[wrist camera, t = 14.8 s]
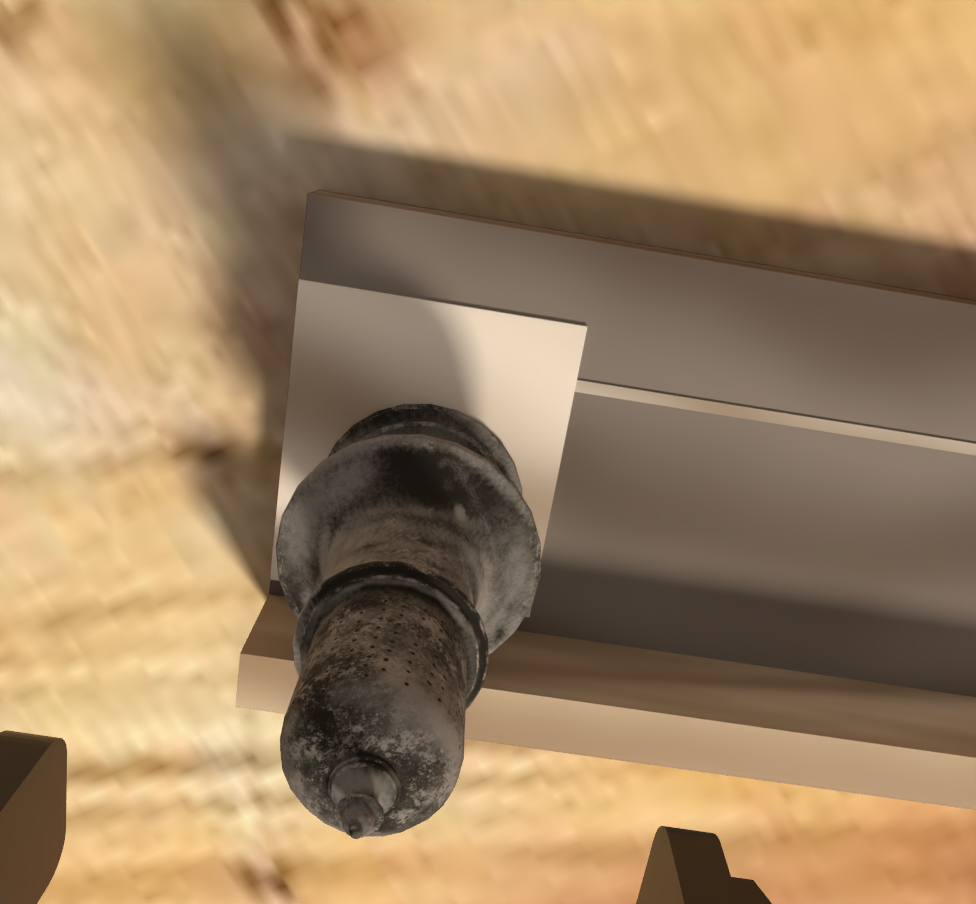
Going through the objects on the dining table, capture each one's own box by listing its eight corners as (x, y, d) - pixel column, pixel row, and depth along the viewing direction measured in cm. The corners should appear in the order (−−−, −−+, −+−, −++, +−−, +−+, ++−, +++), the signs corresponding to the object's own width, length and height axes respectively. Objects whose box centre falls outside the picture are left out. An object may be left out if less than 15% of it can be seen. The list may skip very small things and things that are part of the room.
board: (319, 190, 23) (280, 201, 18) (1163, 332, 24) (1310, 373, 20) (276, 616, 26) (235, 706, 22) (1006, 721, 28) (1101, 827, 23)
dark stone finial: (366, 634, 25) (262, 1049, 13) (266, 444, 23) (47, 737, 12) (568, 556, 24) (638, 927, 13) (480, 354, 22) (468, 574, 11)
